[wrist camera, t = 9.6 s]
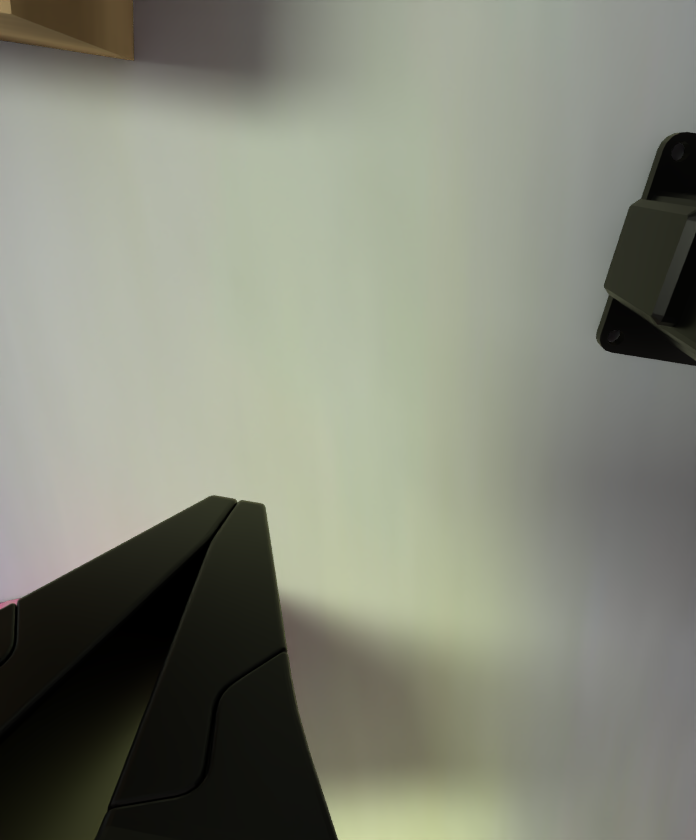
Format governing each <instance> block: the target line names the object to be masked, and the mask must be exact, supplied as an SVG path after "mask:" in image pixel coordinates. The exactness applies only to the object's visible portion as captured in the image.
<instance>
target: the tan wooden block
mask: <svg viewBox="0 0 696 840" xmlns="http://www.w3.org/2000/svg"><path fill="white" fill-rule="evenodd" d="M0 40H3V41H10V42H16V43H23V44H29V45H35V46H42V47H48V48H55V49H61V50H68V51H74V52H81V53H87V54H94V55H100V56H107V57H113V58H120V59H126V60H133V61H134V36H133V0H0Z"/></svg>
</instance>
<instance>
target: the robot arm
mask: <svg viewBox="0 0 696 840" xmlns="http://www.w3.org/2000/svg"><path fill="white" fill-rule="evenodd" d="M678 143H681V144H683V146H684V154H683V156H682V157H681V158H680V159H679V160H678V161H675V160H673V158H672V156H671V152H672V149H673V147H674V146H675V145H676V144H678ZM604 288H605V289H606V291H607V293H608V294H609V297H608V300H607V303H606V306H605V309H604V312H603V315H602V318H601V321H600V324H599V327H598V330H597V334H596V339H597V342H598V344H599V345H600V346H601V347H602V348H604V349H605V350H606V351H609V352H612V353H619V354H625V355H631V356H637V357H644V358H650V359H656V360H663V361H669V362H675V363H682V364H688V365H694V366H696V133H690V132H683V133H674V134H672V135H670V136H668V137H666V138H665V139H664V140H663V141H662V142H661V144H660V146H659V148H658V150H657V153H656V156H655V159H654V162H653V165H652V168H651V171H650V174H649V177H648V180H647V183H646V186H645V189H644V192H643V195H642V198H641V199H639V200H638V201H636V202H635V203H633V204H632V205H631V206H630V207H629V210H628V213H627V216H626V219H625V222H624V225H623V228H622V231H621V234H620V237H619V241H618V244H617V247H616V250H615V253H614V256H613V259H612V262H611V265H610V268H609V271H608V274H607V277H606V280H605V283H604ZM614 330H619V331H620V336H619V338H618V339H617V340H615V341H613V342H609V341H608V336H609V334H610V333H611V332H612V331H614ZM0 840H338V838H337V835H336V832H335V829H334V826H333V823H332V820H331V816H330V813H329V810H328V807H327V804H326V801H325V798H324V795H323V792H322V789H321V785H320V782H319V779H318V776H317V773H316V770H315V767H314V764H313V761H312V757H311V754H310V751H309V748H308V744H307V741H306V737H305V733H304V730H303V726H302V723H301V719H300V715H299V712H298V707H297V702H296V697H295V692H294V687H293V682H292V677H291V670H290V664H289V657H288V654H287V646H286V639H285V633H284V626H283V619H282V613H281V606H280V600H279V593H278V587H277V580H276V573H275V567H274V560H273V554H272V547H271V540H270V534H269V527H268V521H267V514H266V508H265V505H264V504H262V503H256V502H250V501H244V500H241V501H239V502H237V500H236V499H233V498H227V497H221V496H215V495H213V496H209V497H207V498H206V499H204V500H202V501H200V502H198V503H196V504H194V505H193V506H191V507H189V508H187V509H185V510H183V511H181V512H180V513H178V514H176V515H174V516H172V517H170V518H169V519H167V520H165V521H163V522H161V523H159V524H157V525H156V526H154V527H152V528H150V529H148V530H146V531H144V532H143V533H141V534H139V535H137V536H135V537H133V538H132V539H130V540H128V541H126V542H124V543H122V544H120V545H119V546H117V547H115V548H113V549H111V550H109V551H107V552H106V553H104V554H102V555H100V556H98V557H96V558H95V559H93V560H91V561H89V562H87V563H85V564H83V565H82V566H80V567H78V568H76V569H74V570H72V571H70V572H69V573H67V574H65V575H63V576H61V577H59V578H57V579H56V580H54V581H52V582H50V583H48V584H46V585H45V586H43V587H41V588H39V589H37V590H35V591H33V592H32V593H30V594H28V595H26V596H24V597H22V598H20V599H19V600H18V601H17V605H16V604H15V603H11V604H9V605H7V606H5V607H3V608H2V609H0Z"/></svg>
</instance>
